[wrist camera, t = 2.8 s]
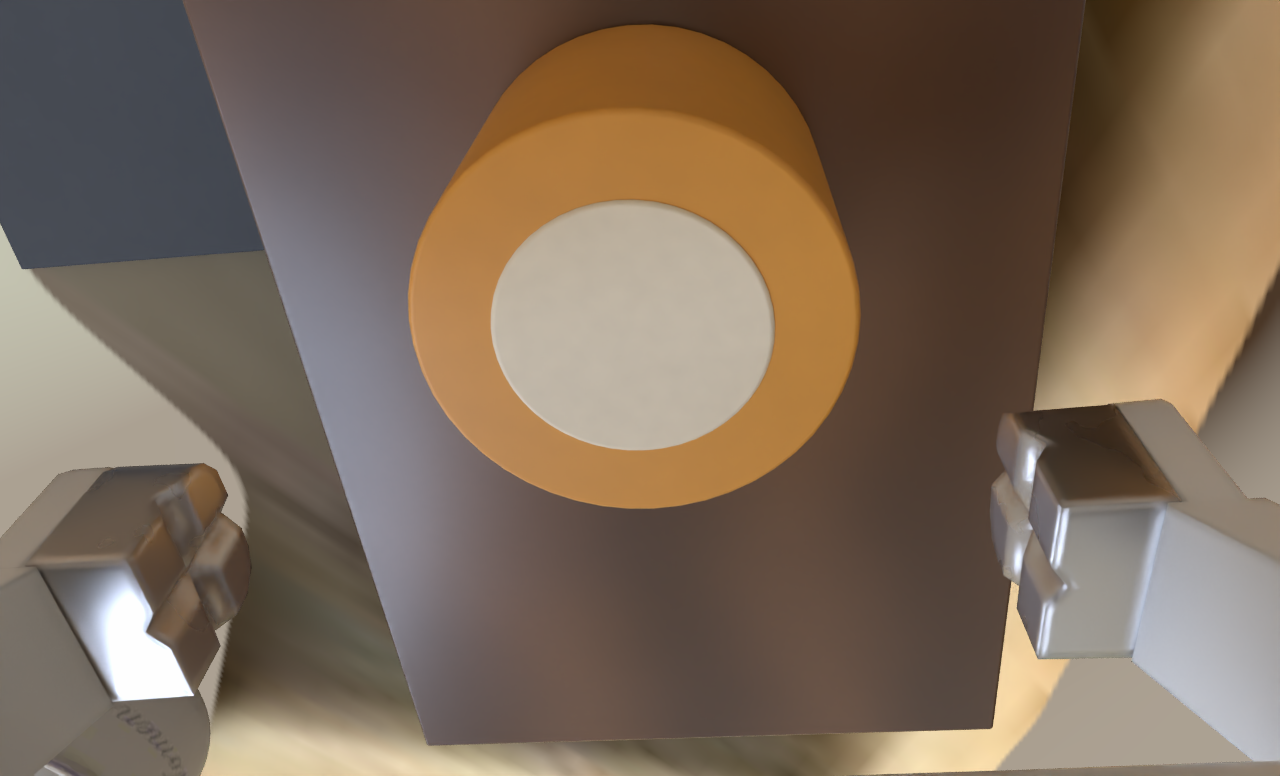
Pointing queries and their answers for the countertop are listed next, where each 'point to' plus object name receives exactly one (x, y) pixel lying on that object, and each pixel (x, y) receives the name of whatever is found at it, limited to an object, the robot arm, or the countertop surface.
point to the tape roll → (637, 275)
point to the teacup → (140, 741)
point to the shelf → (730, 523)
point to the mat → (112, 137)
